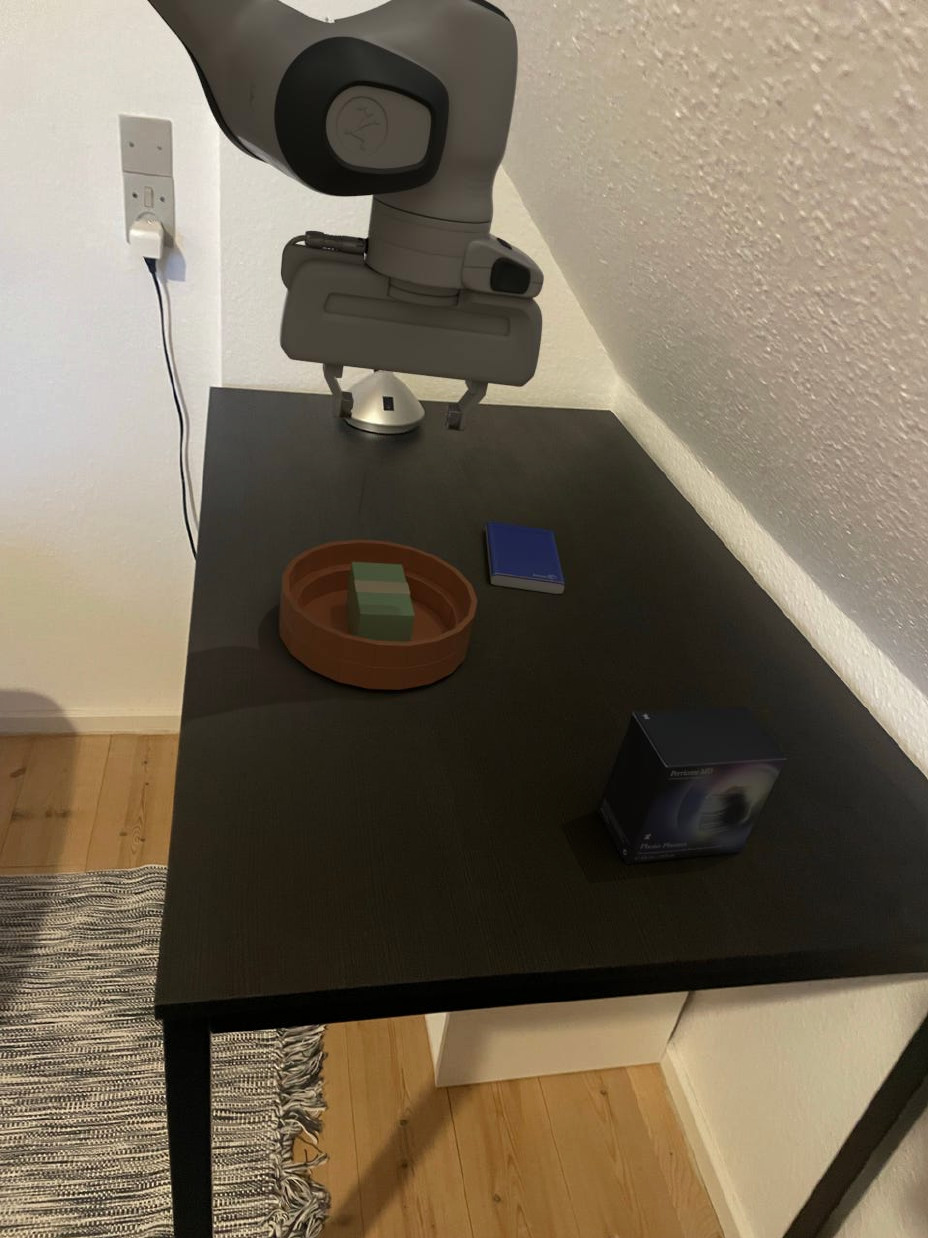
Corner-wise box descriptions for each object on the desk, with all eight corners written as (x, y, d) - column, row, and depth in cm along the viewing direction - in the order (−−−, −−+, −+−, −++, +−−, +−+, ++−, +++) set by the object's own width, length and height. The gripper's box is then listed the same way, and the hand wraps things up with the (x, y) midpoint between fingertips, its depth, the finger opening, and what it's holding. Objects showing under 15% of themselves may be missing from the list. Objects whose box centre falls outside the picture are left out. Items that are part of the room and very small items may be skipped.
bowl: (281, 692, 82) (285, 641, 79) (276, 581, 97) (279, 534, 94) (483, 697, 86) (494, 648, 83) (449, 589, 101) (457, 545, 98)
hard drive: (565, 582, 104) (553, 530, 114) (492, 572, 103) (487, 520, 113) (562, 594, 104) (550, 541, 115) (490, 584, 103) (484, 531, 114)
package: (353, 658, 87) (359, 612, 84) (345, 604, 94) (350, 560, 91) (407, 659, 88) (415, 615, 85) (395, 606, 95) (402, 563, 93)
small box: (626, 870, 72) (665, 767, 66) (593, 808, 77) (627, 708, 71) (744, 856, 75) (792, 758, 69) (705, 798, 80) (746, 702, 74)
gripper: (286, 236, 65) (270, 424, 72) (564, 278, 70) (523, 450, 78) (282, 215, 70) (268, 393, 77) (543, 256, 75) (506, 419, 83)
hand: (398, 422), depth 78 cm, fingers open, 8 cm apart
